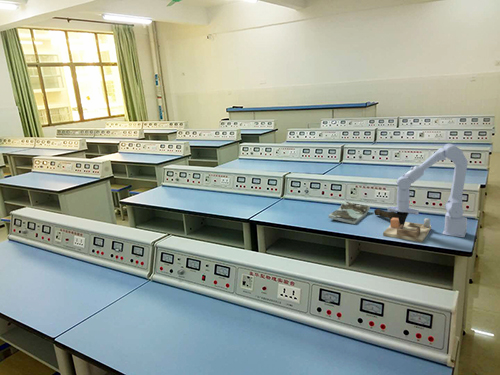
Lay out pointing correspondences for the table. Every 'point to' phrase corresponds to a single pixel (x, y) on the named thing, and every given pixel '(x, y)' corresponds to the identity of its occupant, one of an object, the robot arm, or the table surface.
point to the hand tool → (385, 213)
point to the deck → (408, 231)
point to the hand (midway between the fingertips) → (402, 226)
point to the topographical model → (350, 212)
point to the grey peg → (427, 222)
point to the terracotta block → (395, 223)
